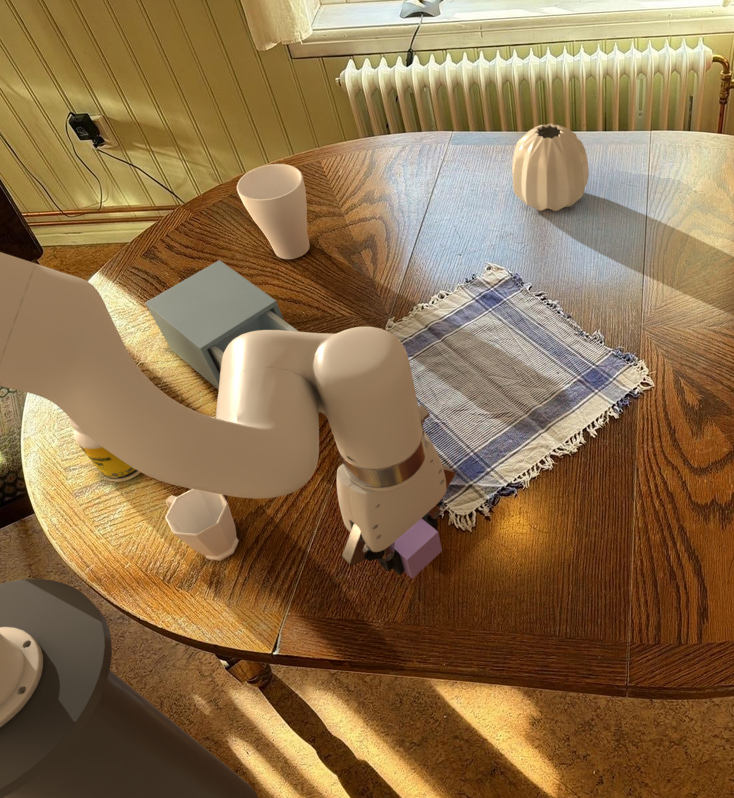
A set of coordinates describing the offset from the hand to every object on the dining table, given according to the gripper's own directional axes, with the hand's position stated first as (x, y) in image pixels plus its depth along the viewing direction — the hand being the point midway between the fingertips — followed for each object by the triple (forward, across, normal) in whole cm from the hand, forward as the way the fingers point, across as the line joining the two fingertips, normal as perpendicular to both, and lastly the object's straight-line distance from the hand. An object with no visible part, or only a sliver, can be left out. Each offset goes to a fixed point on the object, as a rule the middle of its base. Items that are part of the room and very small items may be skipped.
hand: (410, 548), depth 81 cm
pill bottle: (+10, +14, -44) cm, 47 cm away
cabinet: (+10, -8, -52) cm, 53 cm away
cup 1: (+10, +13, -25) cm, 29 cm away
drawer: (+9, -8, -39) cm, 41 cm away
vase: (+9, -69, -40) cm, 80 cm away
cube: (0, 0, 0) cm, 0 cm away
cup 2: (+10, -29, -65) cm, 72 cm away
